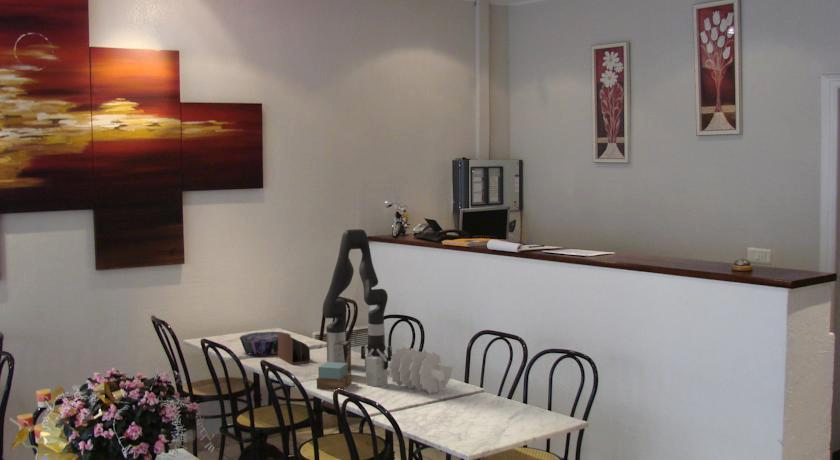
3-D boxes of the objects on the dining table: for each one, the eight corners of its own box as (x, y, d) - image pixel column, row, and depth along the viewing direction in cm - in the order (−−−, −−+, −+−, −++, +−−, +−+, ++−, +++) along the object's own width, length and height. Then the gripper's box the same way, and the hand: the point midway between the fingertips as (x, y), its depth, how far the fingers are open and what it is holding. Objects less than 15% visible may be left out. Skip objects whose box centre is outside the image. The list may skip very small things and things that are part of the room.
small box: (377, 381, 390) (377, 353, 389) (388, 383, 386) (387, 355, 385) (365, 385, 384) (365, 356, 383) (376, 387, 380) (375, 358, 379)
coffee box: (346, 379, 395) (345, 344, 393) (333, 378, 396) (332, 344, 395) (351, 374, 404) (351, 340, 402) (338, 373, 405) (338, 340, 404)
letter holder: (291, 365, 423) (291, 337, 422) (277, 357, 440) (277, 330, 439) (310, 362, 428) (309, 335, 427) (295, 355, 445) (295, 328, 444)
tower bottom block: (326, 382, 390) (326, 372, 390) (351, 384, 387) (351, 373, 387) (316, 389, 379) (316, 378, 378) (342, 391, 376) (342, 380, 375)
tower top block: (326, 372, 388) (326, 361, 388) (347, 374, 386) (347, 363, 385) (318, 378, 379) (318, 367, 378) (339, 379, 376) (339, 368, 376)
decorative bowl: (236, 352, 462) (234, 334, 460) (285, 343, 473) (283, 326, 471) (246, 362, 438) (244, 343, 437) (298, 352, 449) (296, 334, 448)
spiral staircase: (433, 405, 365) (391, 392, 382) (458, 380, 376) (415, 368, 393) (422, 371, 358) (379, 359, 374) (447, 347, 369) (405, 336, 385)
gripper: (393, 332, 385) (394, 367, 386) (363, 330, 389) (364, 366, 390) (389, 335, 378) (389, 371, 379) (358, 334, 382) (359, 369, 383)
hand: (376, 368), depth 385 cm, fingers closed on small box, 8 cm apart
